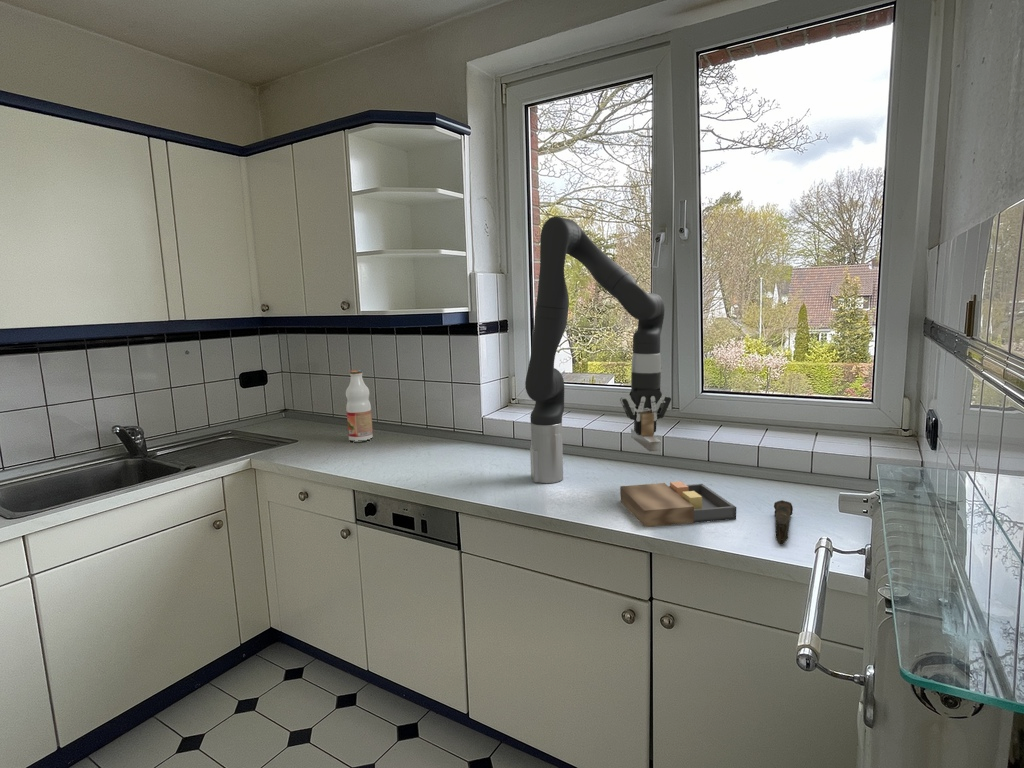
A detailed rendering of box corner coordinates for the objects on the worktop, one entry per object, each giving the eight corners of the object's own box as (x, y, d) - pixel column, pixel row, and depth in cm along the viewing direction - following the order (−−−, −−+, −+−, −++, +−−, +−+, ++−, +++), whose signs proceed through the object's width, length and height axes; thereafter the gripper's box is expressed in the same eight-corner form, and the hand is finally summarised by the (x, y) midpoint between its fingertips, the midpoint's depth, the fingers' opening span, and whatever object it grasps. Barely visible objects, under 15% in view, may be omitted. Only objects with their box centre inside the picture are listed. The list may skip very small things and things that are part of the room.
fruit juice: (368, 442, 226) (363, 371, 222) (345, 443, 227) (339, 372, 223) (376, 437, 235) (371, 368, 231) (353, 437, 236) (348, 369, 232)
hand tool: (774, 514, 140) (774, 496, 139) (792, 516, 138) (793, 498, 137) (766, 545, 123) (767, 524, 123) (787, 548, 121) (788, 527, 121)
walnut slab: (644, 527, 134) (644, 510, 134) (620, 501, 152) (620, 486, 151) (693, 522, 136) (693, 506, 135) (664, 497, 153) (664, 482, 153)
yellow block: (690, 497, 138) (702, 496, 138) (682, 491, 142) (693, 490, 143) (690, 515, 138) (701, 514, 139) (682, 509, 143) (693, 508, 143)
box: (693, 522, 136) (693, 510, 135) (664, 497, 153) (664, 486, 153) (736, 519, 137) (736, 507, 136) (702, 494, 155) (702, 483, 154)
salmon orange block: (677, 487, 145) (688, 486, 146) (670, 482, 150) (681, 481, 150) (677, 504, 146) (688, 504, 146) (670, 498, 150) (681, 498, 151)
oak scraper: (649, 451, 147) (650, 418, 146) (631, 437, 162) (631, 407, 161) (660, 450, 148) (661, 418, 146) (641, 436, 162) (642, 406, 161)
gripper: (666, 367, 156) (665, 429, 159) (615, 369, 155) (615, 432, 158) (677, 371, 149) (675, 436, 152) (624, 372, 148) (623, 438, 150)
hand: (644, 433), depth 155 cm, fingers closed on oak scraper, 3 cm apart
